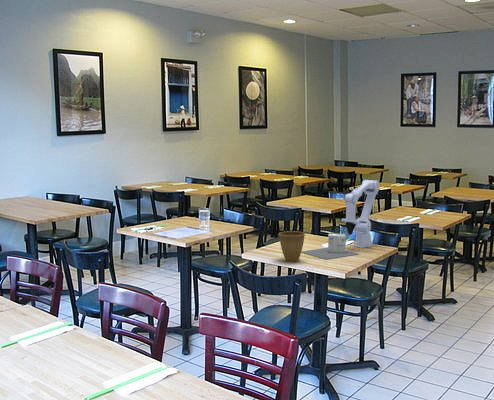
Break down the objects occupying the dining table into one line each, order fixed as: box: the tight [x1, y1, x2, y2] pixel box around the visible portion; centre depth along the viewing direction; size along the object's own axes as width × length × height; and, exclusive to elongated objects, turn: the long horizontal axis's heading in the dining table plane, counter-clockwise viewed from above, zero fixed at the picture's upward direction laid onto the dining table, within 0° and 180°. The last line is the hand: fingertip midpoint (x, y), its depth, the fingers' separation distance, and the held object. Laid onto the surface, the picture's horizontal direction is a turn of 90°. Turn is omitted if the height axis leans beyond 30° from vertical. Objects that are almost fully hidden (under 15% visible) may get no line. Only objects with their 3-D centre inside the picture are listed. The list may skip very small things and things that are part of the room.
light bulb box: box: [327, 233, 347, 253], centre depth 354 cm, size 11×7×11 cm, turn 84°
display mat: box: [301, 247, 360, 261], centre depth 352 cm, size 26×24×1 cm
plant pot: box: [278, 230, 306, 263], centre depth 332 cm, size 15×15×16 cm
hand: (350, 234), depth 360 cm, fingers closed
